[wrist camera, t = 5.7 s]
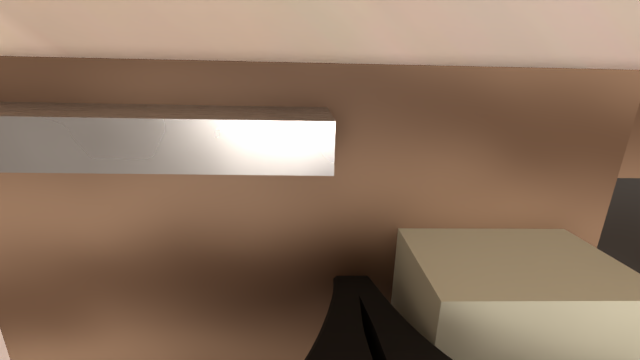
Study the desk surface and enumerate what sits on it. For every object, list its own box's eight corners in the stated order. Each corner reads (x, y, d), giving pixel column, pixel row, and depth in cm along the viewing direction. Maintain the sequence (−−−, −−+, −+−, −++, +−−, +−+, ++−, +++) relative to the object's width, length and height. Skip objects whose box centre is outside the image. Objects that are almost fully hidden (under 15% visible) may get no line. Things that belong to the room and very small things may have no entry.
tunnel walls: (319, 424, 14) (322, 529, 11) (57, 428, 14) (-23, 539, 11) (327, 107, 10) (335, 121, 7) (-38, 101, 10) (-214, 112, 7)
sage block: (535, 342, 13) (625, 448, 10) (386, 343, 13) (419, 452, 9) (564, 229, 12) (685, 300, 8) (397, 228, 12) (441, 301, 8)
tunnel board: (673, 390, 18) (729, 438, 15) (78, 397, 17) (39, 451, 14) (808, 76, 13) (920, 76, 11) (-9, 58, 12) (-88, 54, 10)
